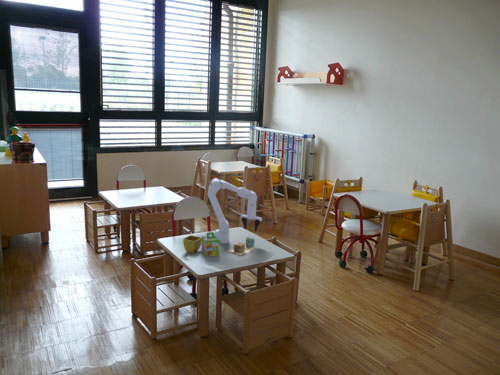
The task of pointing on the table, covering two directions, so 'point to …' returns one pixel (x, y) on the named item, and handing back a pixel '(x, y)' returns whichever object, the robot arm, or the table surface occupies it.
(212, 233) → the chalk box
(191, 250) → the flower pot
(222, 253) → the lane rails
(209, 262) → the table surface
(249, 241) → the wooden tray
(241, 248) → the walnut cube
